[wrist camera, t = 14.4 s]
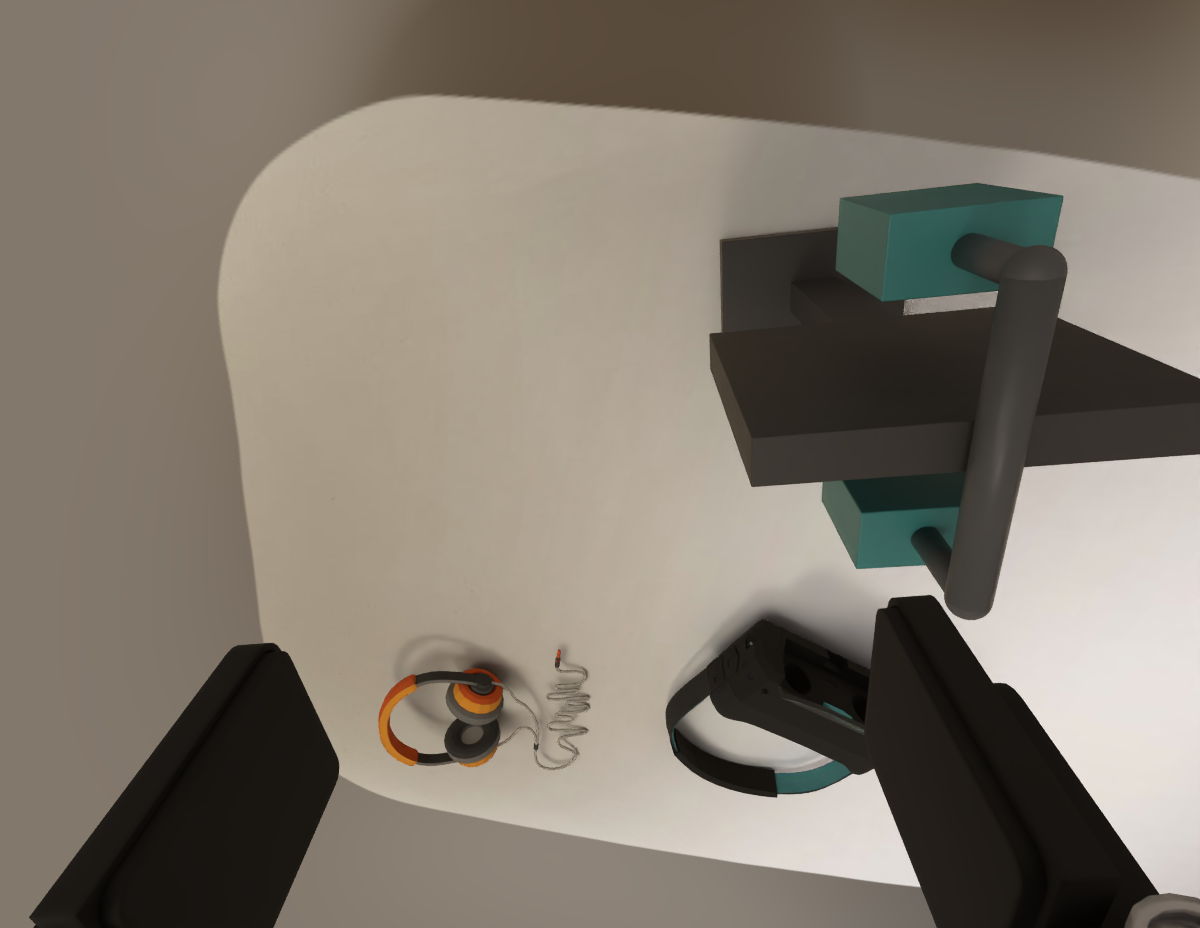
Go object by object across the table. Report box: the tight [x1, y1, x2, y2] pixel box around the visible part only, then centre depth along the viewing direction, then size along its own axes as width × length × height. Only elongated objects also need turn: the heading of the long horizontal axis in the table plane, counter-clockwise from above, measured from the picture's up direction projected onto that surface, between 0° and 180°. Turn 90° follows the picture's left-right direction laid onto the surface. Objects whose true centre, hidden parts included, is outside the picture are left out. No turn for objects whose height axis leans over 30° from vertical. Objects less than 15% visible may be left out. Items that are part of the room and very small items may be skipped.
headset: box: [822, 183, 1068, 620], centre depth 25 cm, size 15×6×11 cm, turn 6°
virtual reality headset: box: [666, 619, 874, 797], centre depth 57 cm, size 19×22×10 cm
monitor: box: [709, 227, 1200, 487], centre depth 32 cm, size 8×16×24 cm, turn 96°
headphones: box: [379, 650, 589, 770], centre depth 60 cm, size 17×5×20 cm
